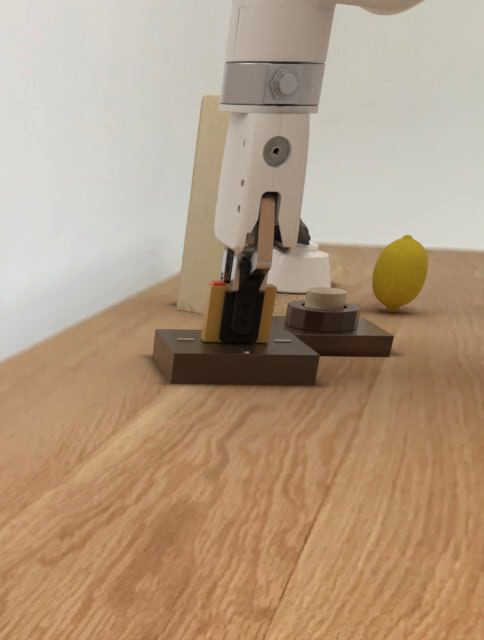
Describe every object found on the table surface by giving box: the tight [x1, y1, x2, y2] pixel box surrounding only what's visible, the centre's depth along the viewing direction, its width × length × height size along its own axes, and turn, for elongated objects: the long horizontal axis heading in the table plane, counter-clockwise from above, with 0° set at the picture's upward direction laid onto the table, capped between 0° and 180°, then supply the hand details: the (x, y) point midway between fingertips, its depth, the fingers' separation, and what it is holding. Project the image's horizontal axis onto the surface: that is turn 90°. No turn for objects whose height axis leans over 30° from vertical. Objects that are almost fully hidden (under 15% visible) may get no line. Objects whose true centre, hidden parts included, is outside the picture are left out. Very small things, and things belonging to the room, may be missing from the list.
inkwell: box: [267, 216, 332, 294], centre depth 132 cm, size 9×18×10 cm, turn 150°
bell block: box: [270, 298, 395, 358], centre depth 106 cm, size 11×9×4 cm
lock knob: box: [201, 280, 277, 343], centre depth 94 cm, size 6×2×5 cm, turn 89°
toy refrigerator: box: [176, 93, 249, 315], centre depth 119 cm, size 8×7×21 cm
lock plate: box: [151, 328, 321, 387], centre depth 96 cm, size 12×10×3 cm
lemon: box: [371, 234, 429, 313], centre depth 122 cm, size 6×6×8 cm
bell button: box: [304, 287, 348, 310], centre depth 105 cm, size 4×4×2 cm
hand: (234, 337), depth 95 cm, fingers closed on lock knob
